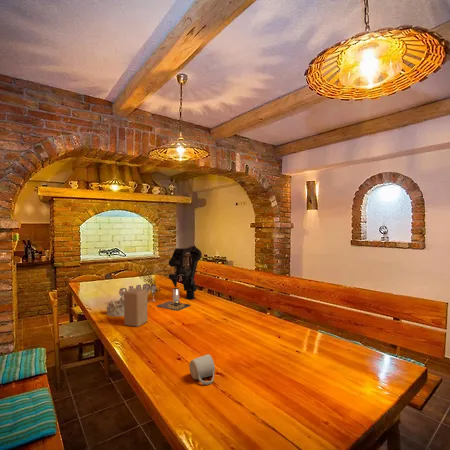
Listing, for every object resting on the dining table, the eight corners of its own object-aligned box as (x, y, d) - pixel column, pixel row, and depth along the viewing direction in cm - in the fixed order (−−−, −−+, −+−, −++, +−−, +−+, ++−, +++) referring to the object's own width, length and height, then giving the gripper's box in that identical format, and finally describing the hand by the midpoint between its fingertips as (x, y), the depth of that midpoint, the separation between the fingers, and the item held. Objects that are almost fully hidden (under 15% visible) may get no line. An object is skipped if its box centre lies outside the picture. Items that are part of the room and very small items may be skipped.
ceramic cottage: (139, 310, 199) (137, 288, 199) (122, 318, 184) (120, 295, 184) (121, 309, 205) (119, 288, 205) (103, 317, 190) (101, 294, 190)
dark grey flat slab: (170, 301, 220) (170, 298, 220) (190, 305, 209) (190, 301, 209) (156, 306, 208) (156, 302, 208) (177, 310, 198) (177, 306, 198)
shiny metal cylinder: (177, 305, 207) (176, 287, 207) (180, 307, 203) (180, 288, 203) (172, 307, 204) (171, 288, 204) (175, 308, 201) (174, 289, 201)
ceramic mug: (188, 375, 114) (188, 355, 114) (206, 369, 119) (206, 351, 118) (199, 388, 105) (199, 367, 105) (219, 382, 109) (219, 362, 109)
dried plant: (175, 274, 236) (153, 248, 268) (137, 283, 218) (119, 253, 250) (171, 304, 248) (150, 276, 280) (135, 314, 230) (118, 283, 262)
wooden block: (148, 321, 176) (147, 289, 176) (138, 327, 167) (137, 292, 166) (134, 320, 179) (133, 287, 179) (123, 325, 170) (123, 291, 170)
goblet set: (155, 299, 228) (155, 282, 228) (157, 301, 223) (157, 283, 223) (118, 305, 213) (118, 287, 213) (120, 306, 208) (119, 288, 208)
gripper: (179, 267, 204) (179, 289, 204) (196, 264, 220) (196, 284, 220) (168, 266, 210) (168, 287, 210) (184, 263, 225) (184, 283, 226)
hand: (179, 285), depth 216 cm, fingers open, 9 cm apart
